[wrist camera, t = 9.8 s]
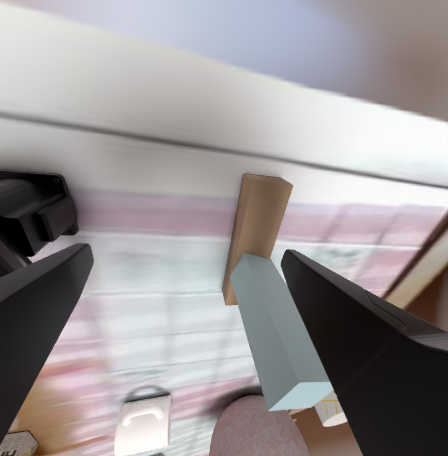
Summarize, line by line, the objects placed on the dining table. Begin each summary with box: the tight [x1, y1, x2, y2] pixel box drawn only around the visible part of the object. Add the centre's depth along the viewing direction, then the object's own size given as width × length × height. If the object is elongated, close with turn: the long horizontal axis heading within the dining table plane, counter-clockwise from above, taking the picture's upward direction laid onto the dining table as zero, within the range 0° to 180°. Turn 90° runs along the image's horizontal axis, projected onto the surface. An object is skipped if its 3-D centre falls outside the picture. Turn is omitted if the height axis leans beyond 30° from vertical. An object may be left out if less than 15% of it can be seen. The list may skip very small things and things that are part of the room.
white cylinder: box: [314, 390, 347, 426], centre depth 40 cm, size 8×8×12 cm
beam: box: [222, 174, 293, 305], centre depth 24 cm, size 4×18×3 cm, turn 172°
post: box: [230, 252, 333, 411], centre depth 18 cm, size 4×4×13 cm
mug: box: [114, 395, 171, 456], centre depth 39 cm, size 12×10×8 cm
